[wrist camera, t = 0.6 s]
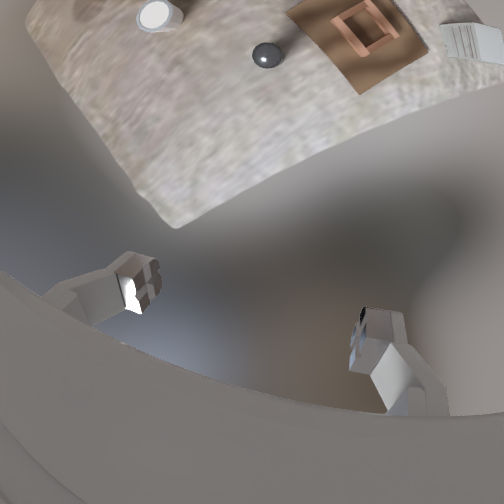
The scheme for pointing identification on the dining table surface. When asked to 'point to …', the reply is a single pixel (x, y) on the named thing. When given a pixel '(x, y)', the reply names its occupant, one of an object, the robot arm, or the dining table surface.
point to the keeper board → (360, 37)
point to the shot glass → (159, 16)
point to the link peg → (267, 55)
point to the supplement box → (473, 42)
